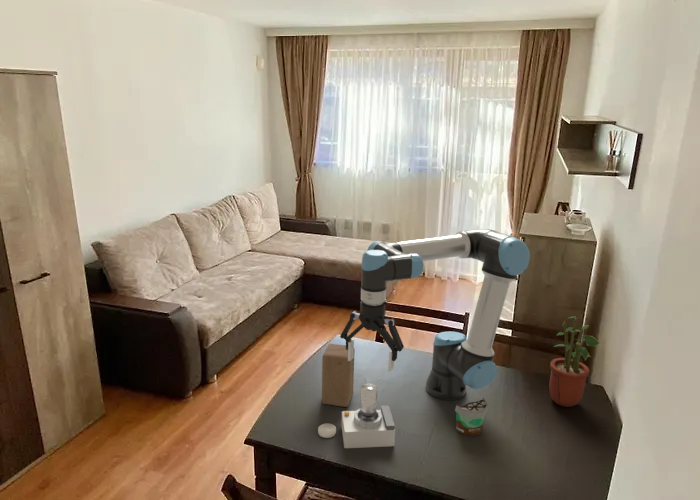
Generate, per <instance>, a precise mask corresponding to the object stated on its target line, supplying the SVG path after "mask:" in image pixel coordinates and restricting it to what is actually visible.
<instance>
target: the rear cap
mask: <svg viewBox="0 0 700 500" xmlns="http://www.w3.org/2000/svg"><path fill="white" fill-rule="evenodd" d="M317 434H318V435H319V437H321V438H324V439H330V438H332V437H334V436H335V435H336V434H337V427H336V426H335V425H334V424H333V423H328V422H327V423H326V422H325V423H323V424H321V425H319V426H318V428H317Z"/></svg>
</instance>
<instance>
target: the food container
mask: <svg viewBox="0 0 700 500" xmlns="http://www.w3.org/2000/svg"><path fill="white" fill-rule="evenodd" d="M488 411H489V404H488V402H487V399H485V397H482V398H481V399H480V400H477V401H471V402H468V403H466V404H464V405H462V406H458V405H456V406H455V408H454V412H456V413H455V415H456V417H455V418H456V422H455V425H456V427H455V428H456V432H458V433H460V434H462V435H464V436H467V437H468V436H471V437H475V436H478V435H480V434H481V433H482V431H483V426H484V423H485V422H484V421H485V416H486V415H487V414H488ZM479 433H480V434H479Z"/></svg>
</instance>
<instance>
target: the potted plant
mask: <svg viewBox="0 0 700 500" xmlns="http://www.w3.org/2000/svg"><path fill="white" fill-rule="evenodd" d="M572 318H573V320H572V327H568V325H567V322H566V320H564V321H563V323H562V329H563V332H562V331H560V332H559V331H558V332H557V334H556V336H563V335H564V343H559V344H556V345H554V346H553V347H564V357H558V358H553V359H552V360H551V361H550V366H549V367H550V369H551V372H550V376H549V377H550V378H549V385H548V386H549V389H548V390H549V395H550V398H551V400H552V401H553V402H554V403H555V404H557V405H559V406H560V407H565V408H571V407H574V406H576V405H578V404H579V403H580V402H581V399H582V397H583V395H584V391H585V387H586V382H587V381H586V380H587V378H588V377H589V375H590V369H589V367H588V366H587V365H586V364H585V363H583V362H581V361H580V360H581V359H580V358H581V356H582V357H583V359H584V361H586V360H587V359H588V358H589V357H590V358H592V356H591V355H590V353H589V352H588V349H587V348H586V347H581V345H582V343H581V342H582V341H584V342H585V343H586V345H587V346H589V347H597V346H598V345H600V344H601V342H600V341H599V340H597V339H596V337H594V336H593V335H588V334H586V335H583V334H584V332H585V331H584V330H586V329H588V328H589V325H588V324H586V325H582V327H581V328H580V329H581V330H580V329H576V326H577V317H576V315H575V316H574V315H573V316H570V317H568V319H572ZM568 331H570V332H571V335H570V342H569V335H568V334H569V333H568ZM576 332H579V335H578V338H577V339H576V338H575V334H576ZM575 340H576V342H575ZM574 342H575V349H574V352H573V348H574ZM569 343H570V344H569Z"/></svg>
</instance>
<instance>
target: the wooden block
mask: <svg viewBox="0 0 700 500" xmlns="http://www.w3.org/2000/svg"><path fill="white" fill-rule="evenodd" d="M354 353H356V352H355V348H354ZM321 360H322V361H321V363H322V364H321V384H322V385H321V403H322V404H323V405H329V406H334V407H335V406H336V407H344V408H347V407H349V405H350V403H351V400H352V397H353V394H354V379H355V376H354V375H355V357H354V358H353V359H352V360H351V361H348V350H346V344H344V345H343V344H338V343H337V344H336V343H329V344H328V345H327V347H326V349H325V350H324V352H323V354H322V358H321Z"/></svg>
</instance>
